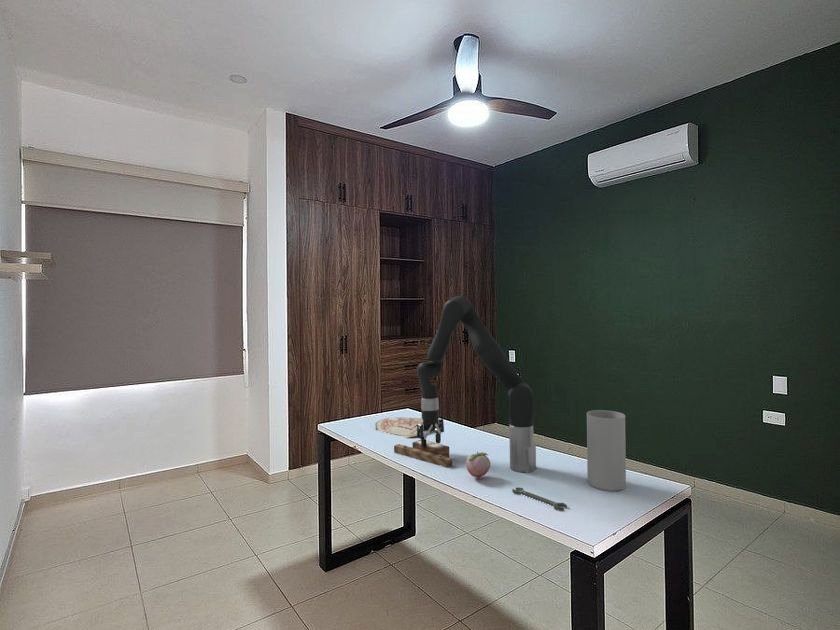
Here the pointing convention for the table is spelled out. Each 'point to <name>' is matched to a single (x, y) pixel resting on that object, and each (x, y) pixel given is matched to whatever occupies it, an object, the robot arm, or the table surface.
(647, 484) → the table surface
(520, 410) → the robot arm
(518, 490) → the wrench
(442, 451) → the walnut frame
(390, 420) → the poster
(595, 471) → the cylinder vase
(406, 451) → the walnut rail
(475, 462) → the decorative fruit
